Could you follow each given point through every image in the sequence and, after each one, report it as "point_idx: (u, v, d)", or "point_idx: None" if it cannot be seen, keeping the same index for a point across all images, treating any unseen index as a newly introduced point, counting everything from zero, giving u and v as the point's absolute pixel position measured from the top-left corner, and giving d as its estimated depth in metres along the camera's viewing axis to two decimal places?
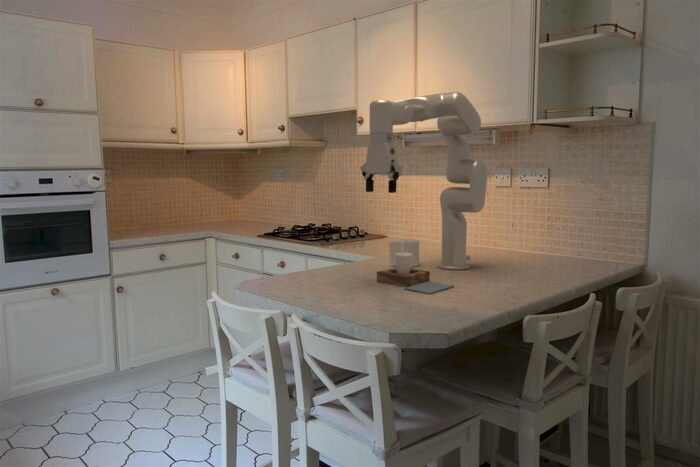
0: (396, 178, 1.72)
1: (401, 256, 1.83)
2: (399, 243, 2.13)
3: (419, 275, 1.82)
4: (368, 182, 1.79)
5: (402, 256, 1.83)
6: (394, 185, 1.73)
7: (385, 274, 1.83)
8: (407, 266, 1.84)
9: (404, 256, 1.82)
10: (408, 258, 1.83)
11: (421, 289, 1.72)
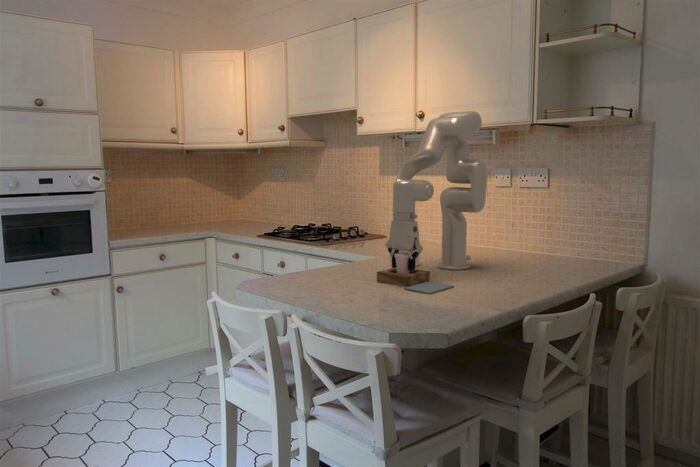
0: (415, 257, 1.82)
1: (401, 256, 1.83)
2: None
3: (419, 275, 1.82)
4: (394, 259, 1.87)
5: (402, 256, 1.83)
6: (413, 263, 1.83)
7: (385, 274, 1.83)
8: (407, 266, 1.84)
9: (404, 256, 1.82)
10: (408, 258, 1.83)
11: (421, 289, 1.72)
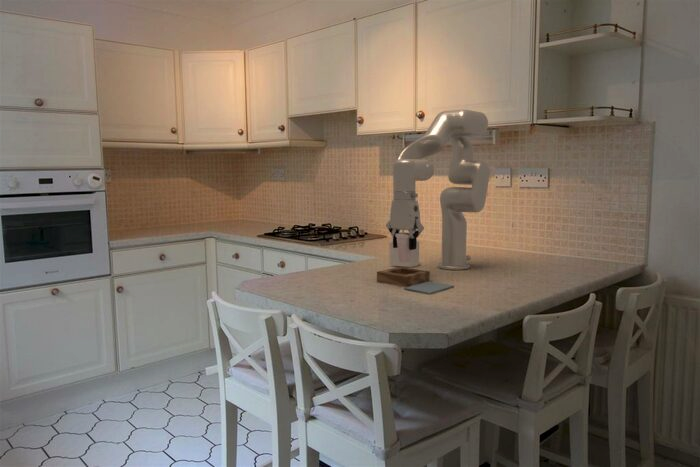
0: (416, 236, 1.82)
1: (402, 236, 1.82)
2: None
3: (419, 275, 1.82)
4: (395, 239, 1.87)
5: (403, 236, 1.82)
6: (414, 243, 1.82)
7: (385, 274, 1.83)
8: (408, 246, 1.83)
9: (405, 236, 1.82)
10: None
11: (421, 289, 1.72)
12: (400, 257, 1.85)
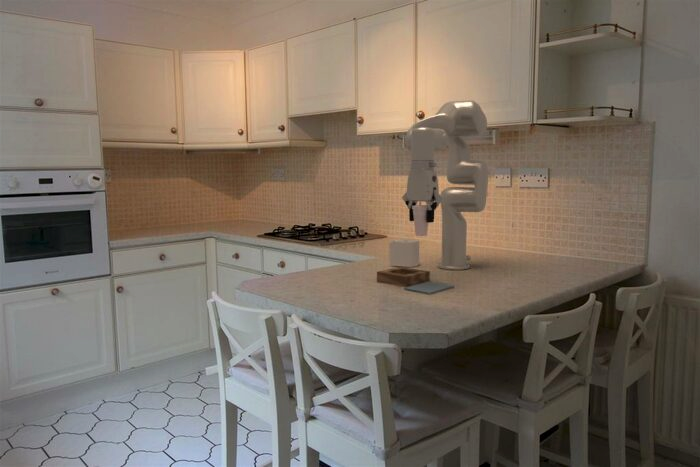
0: (434, 208, 1.72)
1: (419, 207, 1.73)
2: (399, 243, 2.13)
3: (419, 275, 1.82)
4: (412, 211, 1.77)
5: (420, 207, 1.73)
6: (432, 215, 1.73)
7: (385, 274, 1.83)
8: (425, 218, 1.74)
9: (422, 207, 1.73)
10: (426, 210, 1.73)
11: (421, 289, 1.72)
12: (416, 230, 1.76)
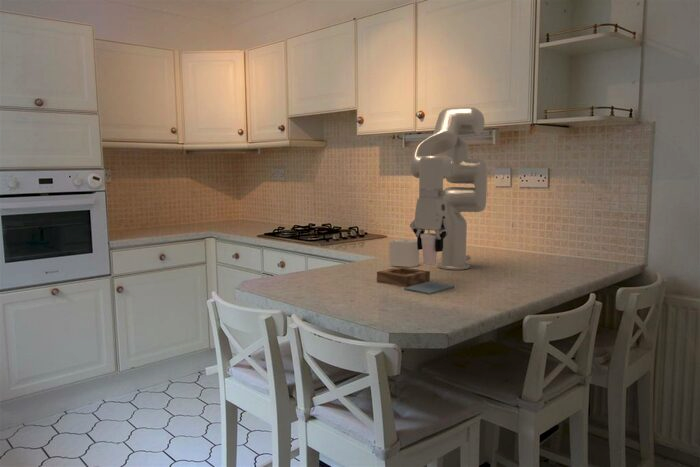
0: (443, 237, 1.70)
1: (428, 236, 1.71)
2: (399, 243, 2.13)
3: (419, 275, 1.82)
4: (420, 240, 1.75)
5: (429, 236, 1.70)
6: (441, 244, 1.71)
7: (385, 274, 1.83)
8: (434, 247, 1.72)
9: (431, 236, 1.70)
10: (435, 238, 1.71)
11: (421, 289, 1.72)
12: (425, 259, 1.73)
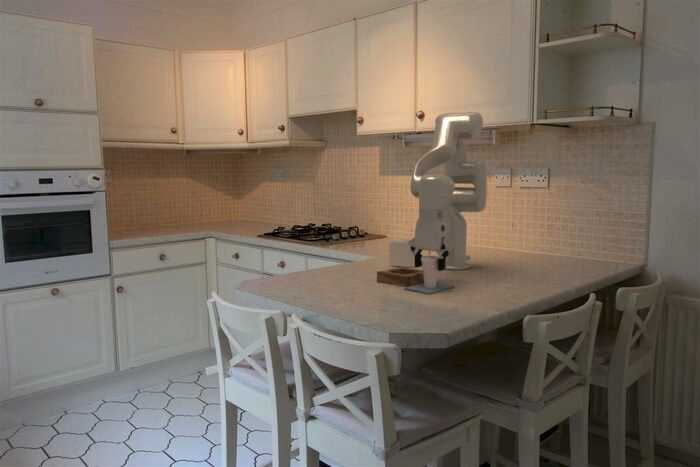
0: (445, 256, 1.70)
1: (429, 260, 1.72)
2: (399, 243, 2.13)
3: (419, 275, 1.82)
4: (417, 258, 1.76)
5: (430, 260, 1.71)
6: (443, 263, 1.71)
7: (385, 274, 1.83)
8: (435, 270, 1.73)
9: (432, 260, 1.71)
10: (436, 262, 1.72)
11: (421, 289, 1.72)
12: (426, 282, 1.74)
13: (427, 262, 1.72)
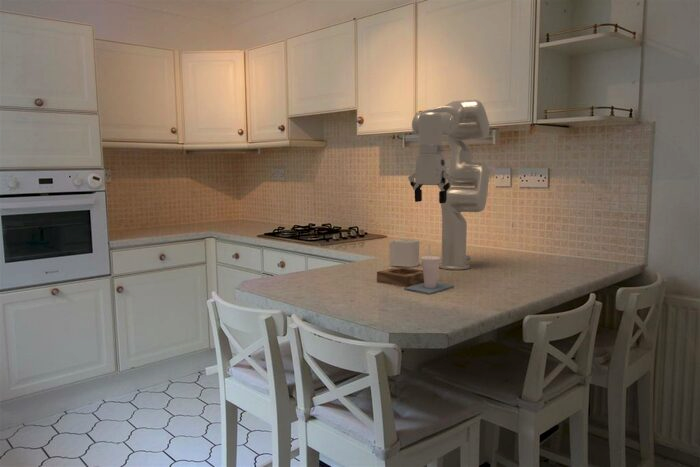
0: (446, 189, 1.75)
1: (429, 260, 1.72)
2: (399, 243, 2.13)
3: (419, 275, 1.82)
4: (417, 192, 1.82)
5: (430, 260, 1.71)
6: (444, 196, 1.76)
7: (385, 274, 1.83)
8: (435, 270, 1.73)
9: (432, 260, 1.71)
10: (436, 262, 1.72)
11: (421, 289, 1.72)
12: (426, 282, 1.74)
13: (427, 262, 1.72)
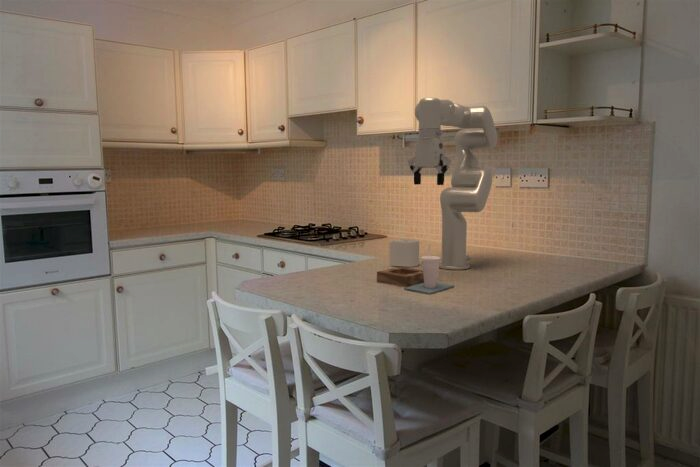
0: (444, 171, 1.83)
1: (429, 260, 1.72)
2: (399, 243, 2.13)
3: (419, 275, 1.82)
4: (416, 175, 1.90)
5: (430, 260, 1.71)
6: (442, 178, 1.83)
7: (385, 274, 1.83)
8: (435, 270, 1.73)
9: (432, 260, 1.71)
10: (436, 262, 1.72)
11: (421, 289, 1.72)
12: (426, 282, 1.74)
13: (427, 262, 1.72)
